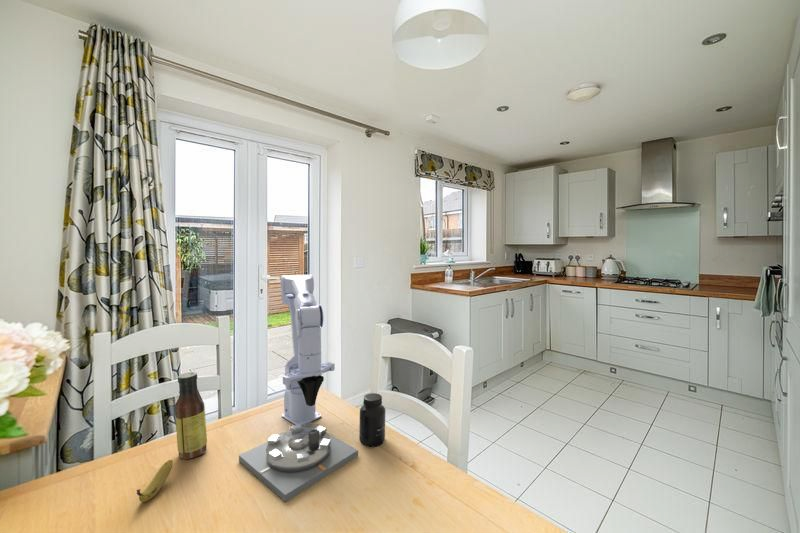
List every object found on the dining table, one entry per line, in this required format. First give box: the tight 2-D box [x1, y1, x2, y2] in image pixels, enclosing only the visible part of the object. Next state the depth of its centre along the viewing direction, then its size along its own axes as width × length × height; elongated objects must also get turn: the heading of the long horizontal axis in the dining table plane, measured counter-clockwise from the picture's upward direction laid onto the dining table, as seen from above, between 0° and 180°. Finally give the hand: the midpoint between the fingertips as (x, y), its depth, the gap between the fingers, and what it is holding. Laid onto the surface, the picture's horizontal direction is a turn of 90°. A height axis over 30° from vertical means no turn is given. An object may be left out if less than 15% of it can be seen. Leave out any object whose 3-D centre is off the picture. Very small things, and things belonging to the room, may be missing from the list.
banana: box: [135, 459, 174, 503], centre depth 72 cm, size 10×2×4 cm, turn 0°
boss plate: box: [238, 422, 359, 503], centre depth 84 cm, size 20×20×2 cm
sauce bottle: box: [174, 371, 208, 460], centre depth 85 cm, size 7×6×20 cm
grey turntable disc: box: [266, 424, 331, 472], centre depth 84 cm, size 15×15×7 cm
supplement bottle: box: [358, 392, 386, 448], centre depth 91 cm, size 7×7×12 cm
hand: (310, 404), depth 90 cm, fingers closed
